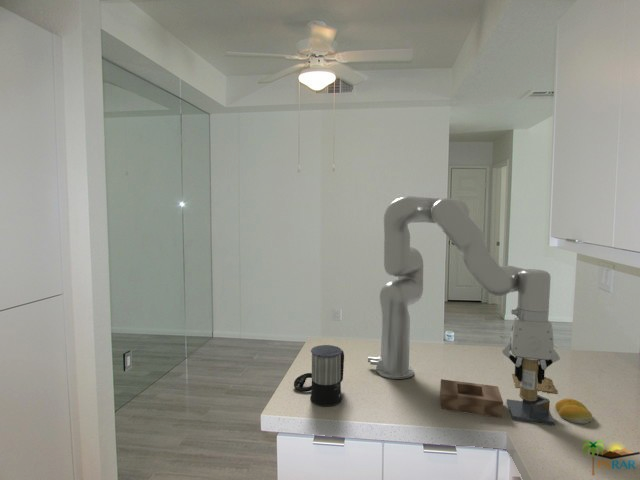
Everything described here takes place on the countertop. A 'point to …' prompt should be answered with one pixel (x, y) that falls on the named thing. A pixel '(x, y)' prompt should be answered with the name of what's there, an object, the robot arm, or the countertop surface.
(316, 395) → the milk frother
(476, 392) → the wooden block with hole
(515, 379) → the cookie
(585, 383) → the countertop surface
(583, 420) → the bread roll
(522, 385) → the sprinkles bottle
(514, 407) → the v block
